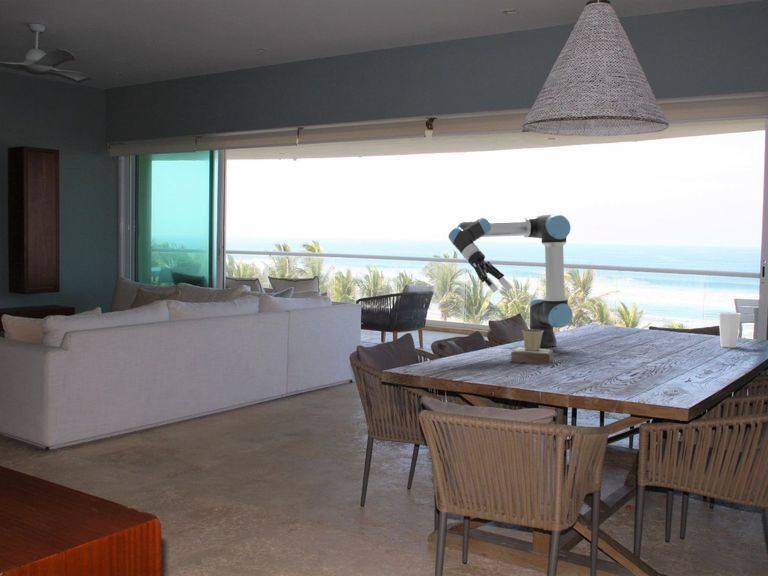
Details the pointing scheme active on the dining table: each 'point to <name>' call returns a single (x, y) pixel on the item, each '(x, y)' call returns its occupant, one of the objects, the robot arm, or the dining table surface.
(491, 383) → the dining table surface
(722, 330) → the cup
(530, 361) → the brown flat square box
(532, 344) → the flower pot
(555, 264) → the robot arm
